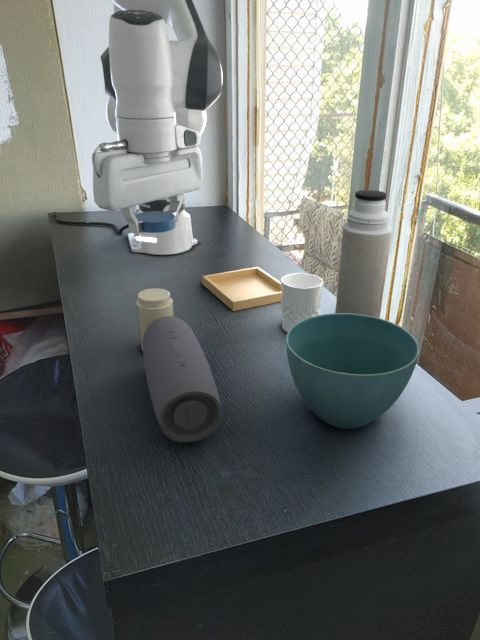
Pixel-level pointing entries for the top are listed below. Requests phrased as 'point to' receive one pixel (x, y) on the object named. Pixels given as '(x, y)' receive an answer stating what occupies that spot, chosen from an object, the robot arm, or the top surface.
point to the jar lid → (157, 221)
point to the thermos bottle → (364, 255)
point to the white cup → (299, 298)
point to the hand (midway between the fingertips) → (155, 226)
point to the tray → (244, 288)
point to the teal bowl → (350, 366)
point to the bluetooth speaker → (180, 381)
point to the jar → (152, 308)
